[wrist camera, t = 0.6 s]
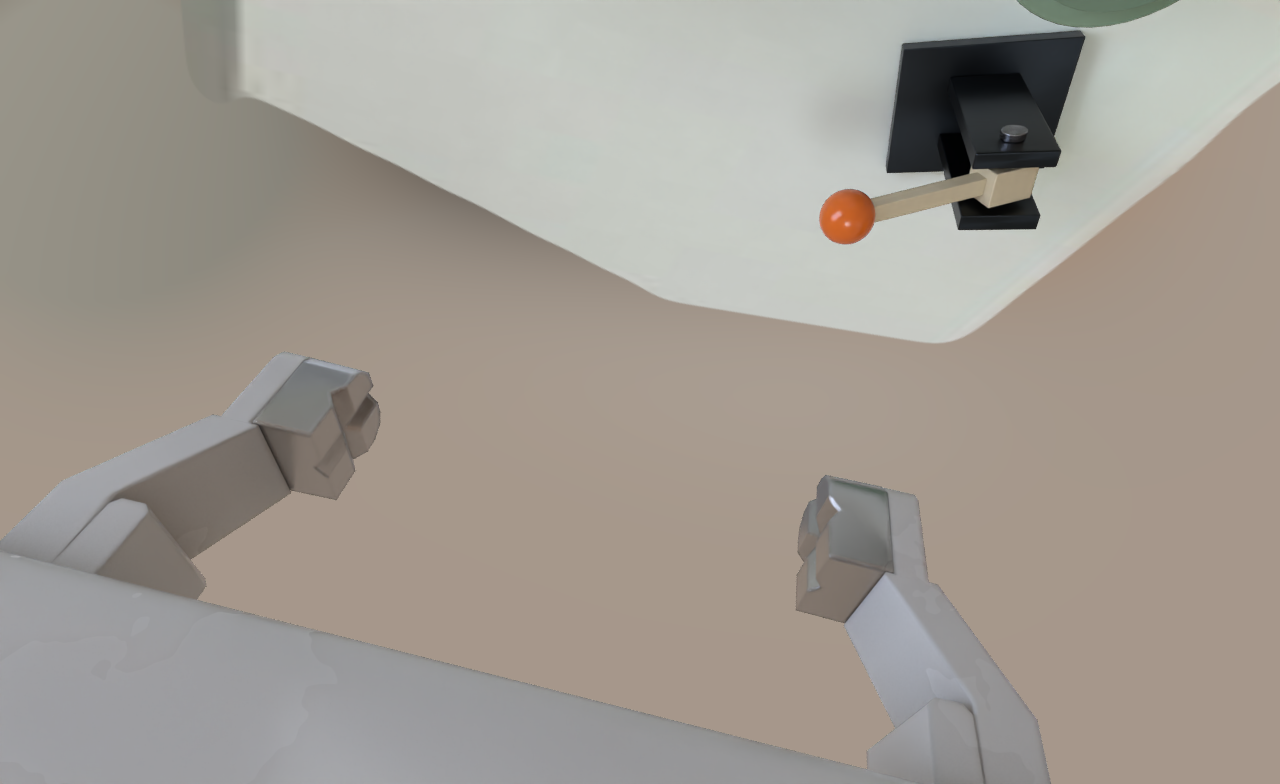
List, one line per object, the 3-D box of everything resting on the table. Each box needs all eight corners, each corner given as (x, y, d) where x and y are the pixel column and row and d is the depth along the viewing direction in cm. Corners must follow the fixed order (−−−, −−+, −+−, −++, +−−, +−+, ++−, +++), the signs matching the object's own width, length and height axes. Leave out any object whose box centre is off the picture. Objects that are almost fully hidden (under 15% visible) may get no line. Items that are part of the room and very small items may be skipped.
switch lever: (809, 233, 41) (831, 259, 39) (811, 186, 39) (835, 211, 37) (999, 185, 42) (1032, 208, 40) (1012, 137, 40) (1048, 158, 38)
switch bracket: (885, 166, 52) (897, 257, 43) (902, 43, 45) (919, 121, 37) (1040, 160, 49) (1086, 257, 40) (1081, 30, 43) (1145, 111, 34)
